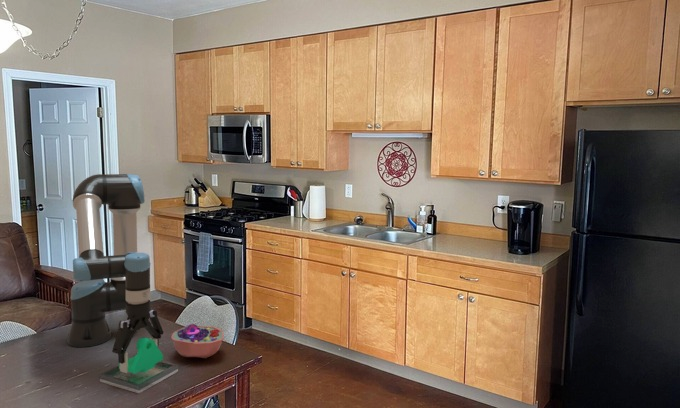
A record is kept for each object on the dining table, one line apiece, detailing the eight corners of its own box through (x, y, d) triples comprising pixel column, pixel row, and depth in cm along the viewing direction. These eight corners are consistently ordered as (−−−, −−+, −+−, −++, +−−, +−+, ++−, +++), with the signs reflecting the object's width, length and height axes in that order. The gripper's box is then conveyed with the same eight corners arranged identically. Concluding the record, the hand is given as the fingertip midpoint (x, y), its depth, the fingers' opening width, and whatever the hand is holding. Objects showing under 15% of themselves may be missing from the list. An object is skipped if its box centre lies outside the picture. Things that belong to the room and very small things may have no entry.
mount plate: (99, 381, 160) (99, 374, 160) (140, 361, 175) (140, 354, 175) (139, 393, 153) (138, 385, 153) (177, 371, 168) (177, 364, 168)
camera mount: (146, 358, 171) (146, 329, 169) (163, 362, 167) (162, 333, 166) (117, 371, 160) (116, 341, 159) (134, 377, 157) (134, 345, 155)
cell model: (201, 371, 170) (201, 339, 168) (161, 357, 179) (160, 327, 178) (235, 353, 184) (235, 324, 183) (195, 342, 194) (195, 314, 193)
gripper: (116, 313, 149) (117, 381, 151) (173, 292, 171) (174, 352, 173) (98, 309, 152) (100, 376, 154) (157, 289, 174) (158, 348, 176)
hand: (139, 364), depth 164 cm, fingers closed on camera mount, 12 cm apart
